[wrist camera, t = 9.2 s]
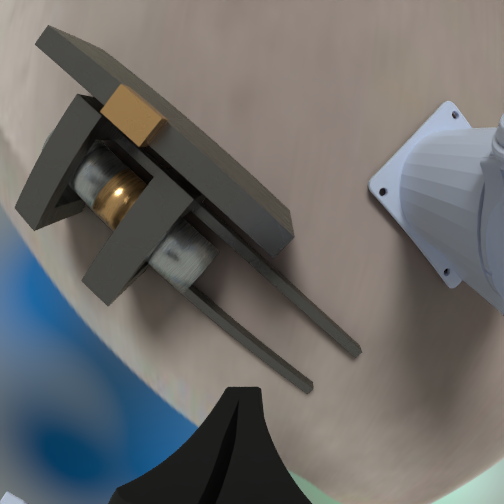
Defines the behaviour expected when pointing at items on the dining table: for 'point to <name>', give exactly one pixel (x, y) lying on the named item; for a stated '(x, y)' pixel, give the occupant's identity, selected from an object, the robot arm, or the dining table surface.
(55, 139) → the collar fixture
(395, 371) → the dining table surface
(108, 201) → the tube
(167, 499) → the robot arm
